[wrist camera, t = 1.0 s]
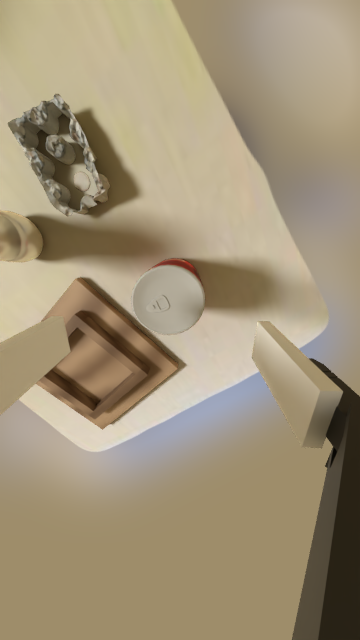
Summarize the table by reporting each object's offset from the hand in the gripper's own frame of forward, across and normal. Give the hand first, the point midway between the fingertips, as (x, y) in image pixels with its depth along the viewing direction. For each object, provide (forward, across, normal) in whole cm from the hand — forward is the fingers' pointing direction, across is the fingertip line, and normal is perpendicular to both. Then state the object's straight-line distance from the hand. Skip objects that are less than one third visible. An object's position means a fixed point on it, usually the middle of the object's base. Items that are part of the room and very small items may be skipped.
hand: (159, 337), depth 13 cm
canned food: (+19, 0, 0) cm, 19 cm away
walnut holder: (+19, -15, -15) cm, 28 cm away
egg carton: (+19, -14, +15) cm, 28 cm away
